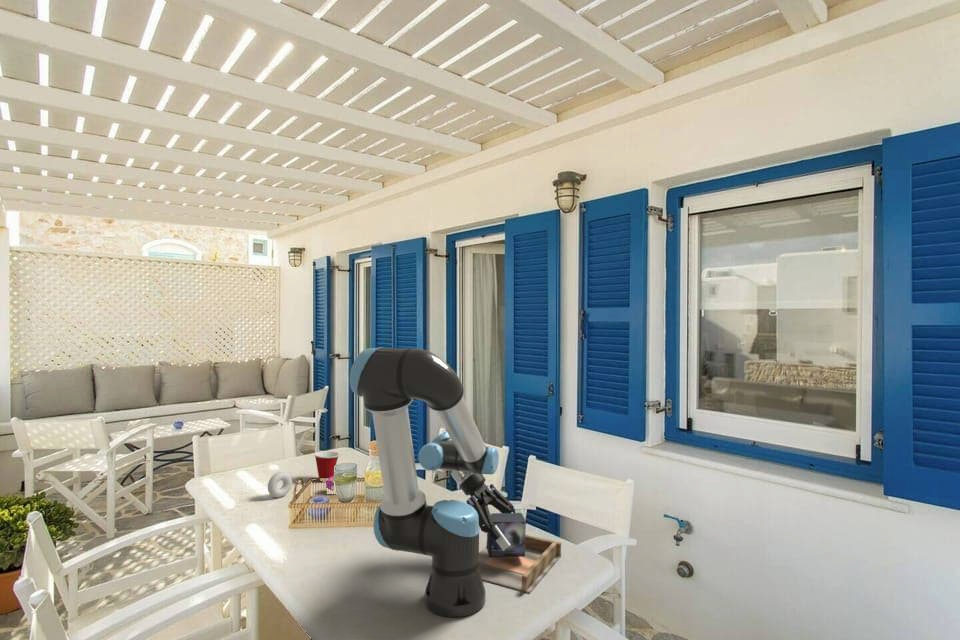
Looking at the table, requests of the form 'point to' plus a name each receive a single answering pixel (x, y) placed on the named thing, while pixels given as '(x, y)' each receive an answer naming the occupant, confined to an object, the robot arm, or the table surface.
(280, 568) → the table surface
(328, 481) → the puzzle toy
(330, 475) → the plastic cup
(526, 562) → the wooden tray
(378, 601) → the table surface
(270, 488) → the donut
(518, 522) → the small box
